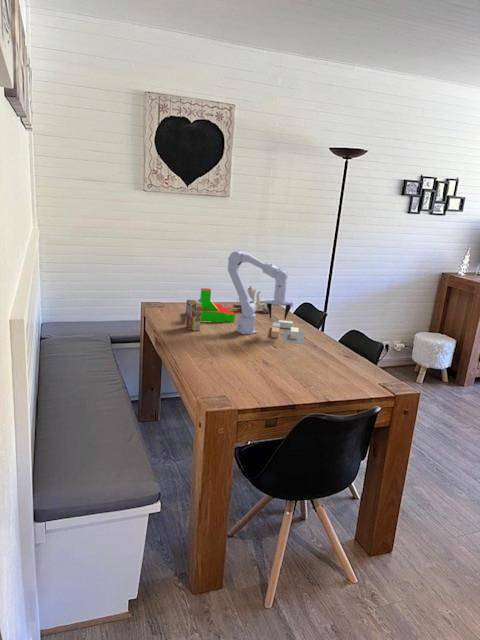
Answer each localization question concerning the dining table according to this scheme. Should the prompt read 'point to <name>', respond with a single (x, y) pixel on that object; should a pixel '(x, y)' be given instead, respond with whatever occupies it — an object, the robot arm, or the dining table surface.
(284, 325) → the sage brick
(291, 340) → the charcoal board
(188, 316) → the candy box
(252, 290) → the chinaware
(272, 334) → the terracotta brick
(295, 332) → the cream brick
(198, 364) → the dining table surface
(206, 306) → the building blocks toy
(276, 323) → the slate brick
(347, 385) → the dining table surface
